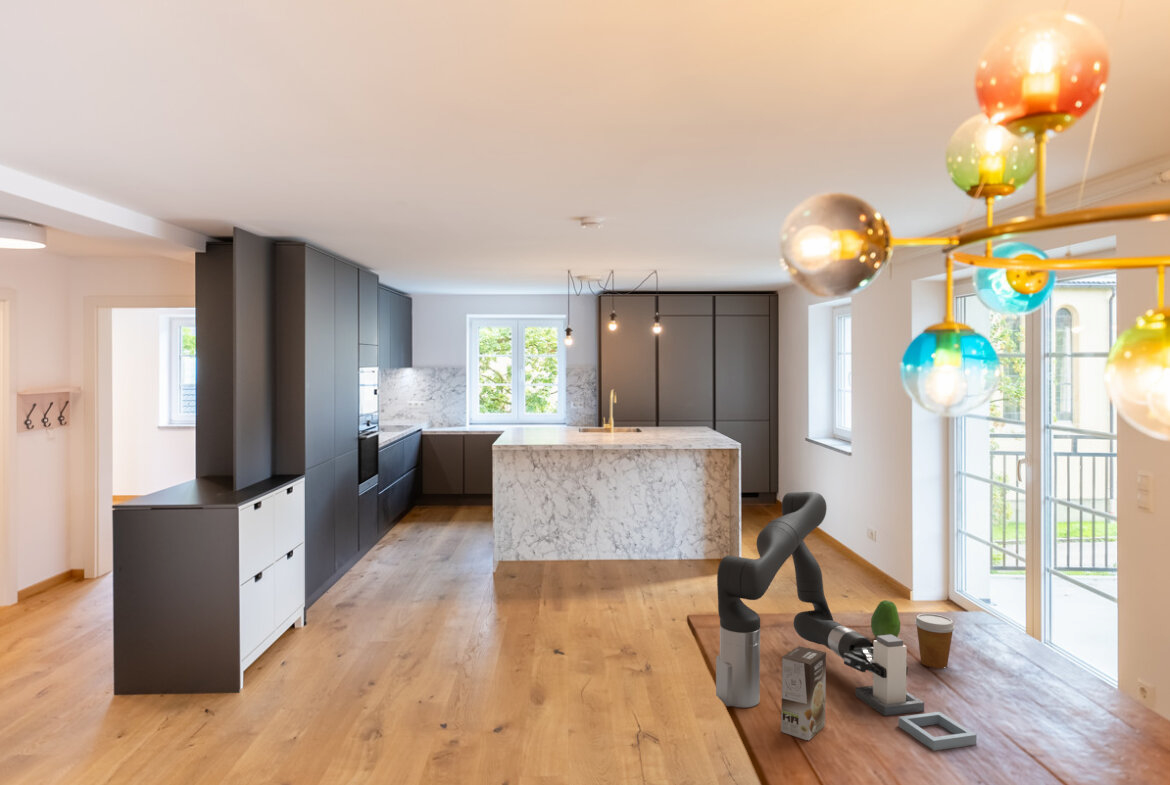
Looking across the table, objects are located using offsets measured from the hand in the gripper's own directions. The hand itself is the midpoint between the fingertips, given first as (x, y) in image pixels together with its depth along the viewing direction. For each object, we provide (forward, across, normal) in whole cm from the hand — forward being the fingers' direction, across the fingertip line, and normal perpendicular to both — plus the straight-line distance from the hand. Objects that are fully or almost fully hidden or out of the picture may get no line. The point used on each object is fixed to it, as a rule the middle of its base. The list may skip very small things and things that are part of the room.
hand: (895, 672), depth 159 cm
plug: (-2, 0, +8) cm, 8 cm away
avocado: (-36, +25, +8) cm, 45 cm away
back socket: (-2, 0, +8) cm, 8 cm away
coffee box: (+4, -26, +8) cm, 28 cm away
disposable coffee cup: (-19, +27, +8) cm, 34 cm away
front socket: (+13, 0, +8) cm, 15 cm away
